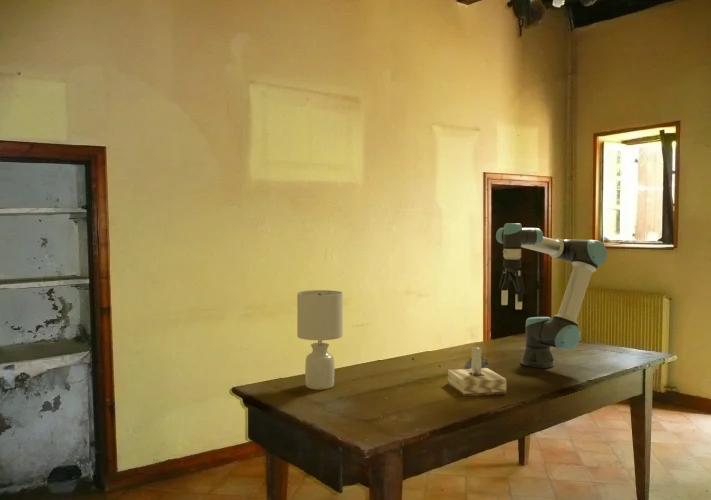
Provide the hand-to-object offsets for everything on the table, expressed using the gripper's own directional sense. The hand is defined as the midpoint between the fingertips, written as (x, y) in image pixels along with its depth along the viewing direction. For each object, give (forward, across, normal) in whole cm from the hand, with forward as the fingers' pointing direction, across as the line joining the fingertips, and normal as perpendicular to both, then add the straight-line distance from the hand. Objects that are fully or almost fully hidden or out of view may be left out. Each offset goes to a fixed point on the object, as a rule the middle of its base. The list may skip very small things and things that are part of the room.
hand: (511, 307), depth 252 cm
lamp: (+32, -3, -84) cm, 90 cm away
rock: (+32, -9, -12) cm, 35 cm away
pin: (+31, +12, -21) cm, 39 cm away
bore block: (+32, +12, -21) cm, 40 cm away
